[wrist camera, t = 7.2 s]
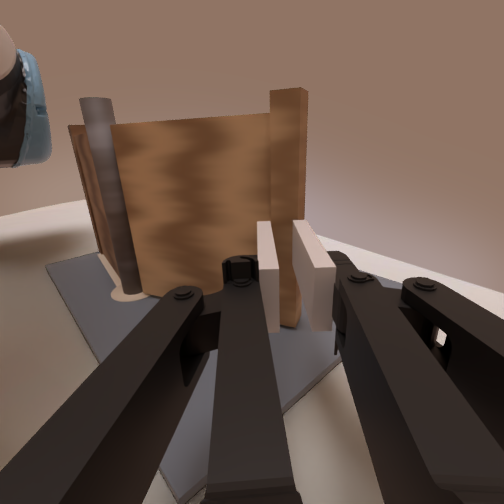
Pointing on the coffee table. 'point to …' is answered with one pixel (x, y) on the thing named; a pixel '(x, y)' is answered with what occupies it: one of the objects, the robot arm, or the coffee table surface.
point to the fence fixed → (105, 190)
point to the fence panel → (215, 194)
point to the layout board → (201, 402)
